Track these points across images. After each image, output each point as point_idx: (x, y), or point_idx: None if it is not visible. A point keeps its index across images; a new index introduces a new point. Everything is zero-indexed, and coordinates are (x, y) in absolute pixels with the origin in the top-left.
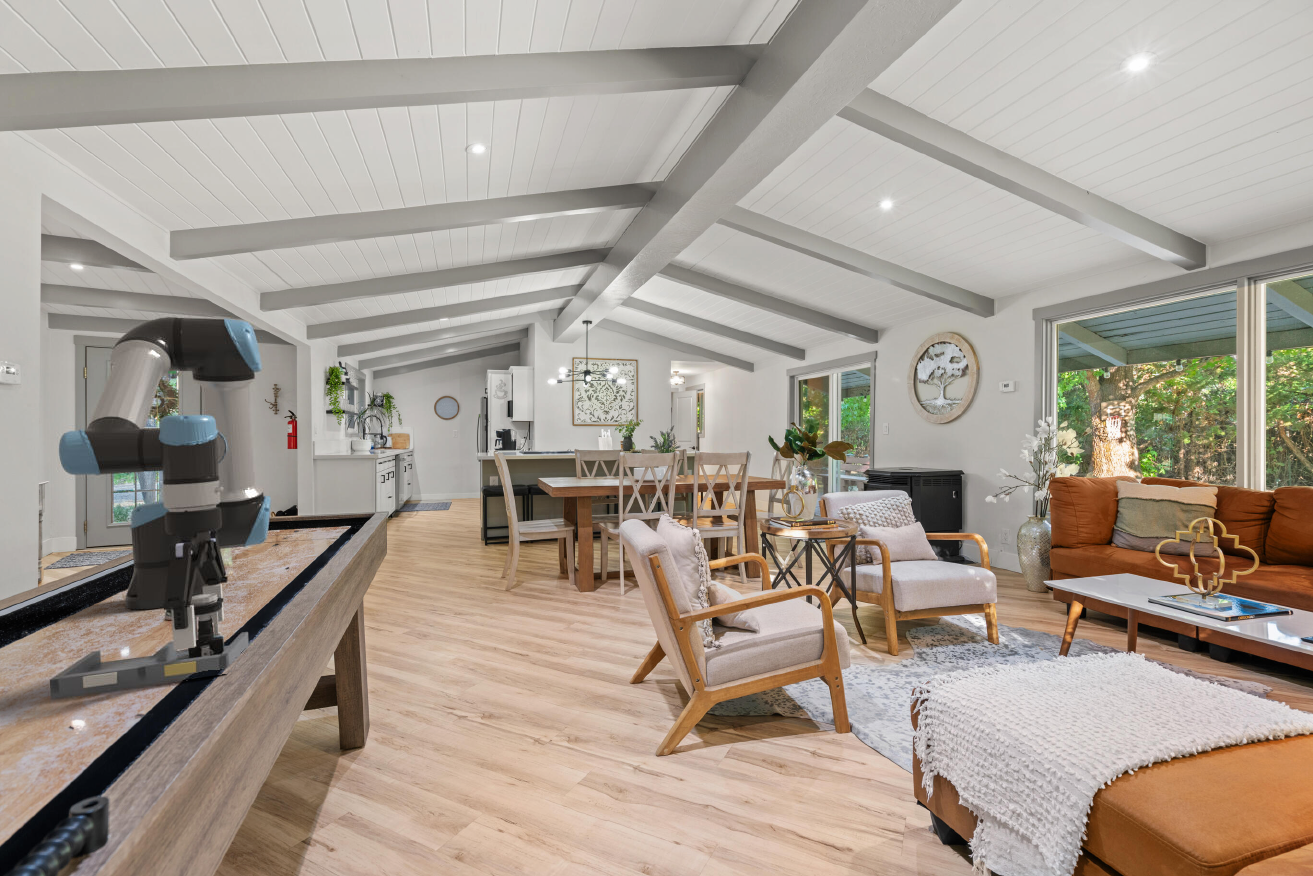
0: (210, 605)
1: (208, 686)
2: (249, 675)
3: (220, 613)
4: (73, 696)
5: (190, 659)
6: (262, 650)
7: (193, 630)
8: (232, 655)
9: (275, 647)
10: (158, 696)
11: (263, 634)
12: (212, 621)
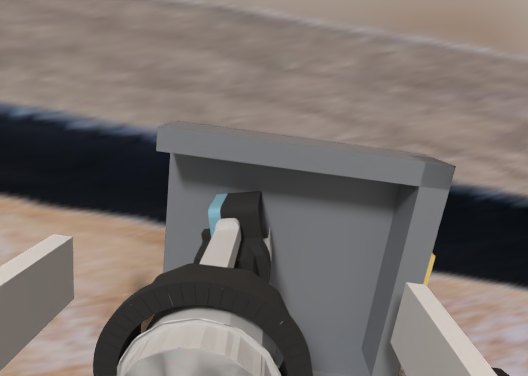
0: (299, 334)
1: (498, 191)
2: (481, 84)
3: (48, 259)
4: None
5: (410, 274)
6: (223, 71)
7: (458, 329)
8: (371, 152)
9: (212, 27)
10: (485, 299)
11: (20, 90)
12: (70, 274)
